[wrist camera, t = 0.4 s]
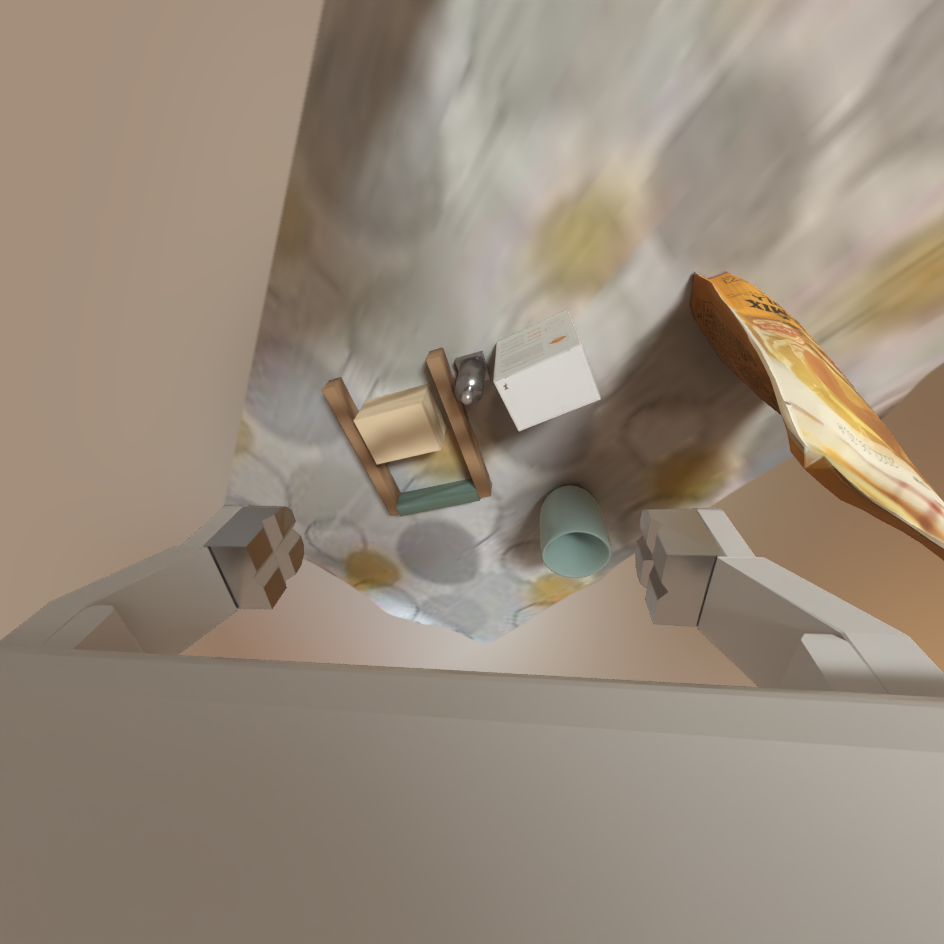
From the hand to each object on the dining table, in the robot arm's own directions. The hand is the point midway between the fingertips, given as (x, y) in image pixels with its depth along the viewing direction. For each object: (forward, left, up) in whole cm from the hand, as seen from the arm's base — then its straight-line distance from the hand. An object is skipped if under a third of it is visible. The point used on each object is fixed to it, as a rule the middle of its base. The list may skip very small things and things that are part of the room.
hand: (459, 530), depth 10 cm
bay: (+16, -15, -37) cm, 44 cm away
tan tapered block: (+14, -15, -37) cm, 43 cm away
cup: (+31, +1, -37) cm, 49 cm away
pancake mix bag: (+14, +21, -37) cm, 45 cm away
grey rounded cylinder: (+10, -6, -37) cm, 39 cm away
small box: (+10, +2, -37) cm, 39 cm away
